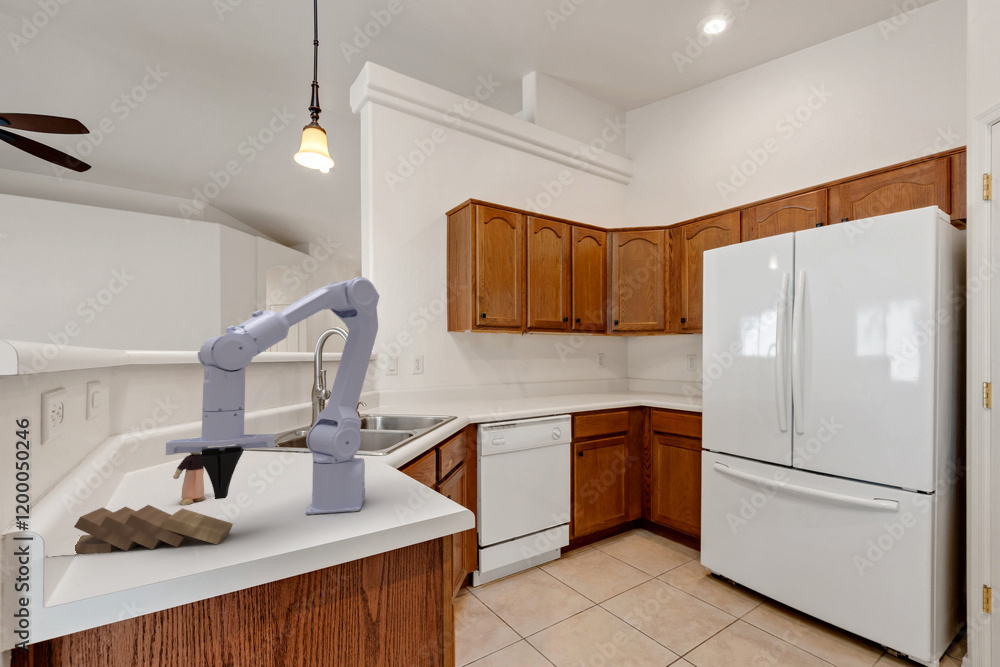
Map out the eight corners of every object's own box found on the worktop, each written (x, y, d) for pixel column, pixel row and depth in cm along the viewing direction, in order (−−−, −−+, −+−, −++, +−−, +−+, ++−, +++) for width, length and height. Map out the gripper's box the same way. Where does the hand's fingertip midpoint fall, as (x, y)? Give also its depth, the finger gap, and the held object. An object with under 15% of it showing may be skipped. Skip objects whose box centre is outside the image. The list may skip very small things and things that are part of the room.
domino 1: (151, 530, 69) (102, 507, 69) (132, 540, 65) (80, 516, 64) (145, 539, 69) (96, 516, 68) (126, 551, 65) (73, 527, 64)
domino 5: (233, 523, 72) (182, 508, 70) (221, 534, 67) (167, 517, 66) (228, 533, 71) (177, 518, 70) (217, 544, 67) (162, 528, 66)
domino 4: (197, 526, 71) (148, 504, 69) (183, 537, 66) (130, 514, 65) (191, 535, 70) (142, 514, 69) (177, 547, 66) (124, 524, 65)
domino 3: (174, 528, 70) (125, 506, 69) (159, 539, 66) (106, 516, 65) (169, 538, 70) (119, 516, 69) (152, 549, 65) (99, 526, 64)
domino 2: (129, 531, 69) (70, 536, 68) (110, 543, 65) (46, 548, 63) (129, 542, 69) (69, 546, 67) (110, 554, 65) (45, 559, 63)
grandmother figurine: (185, 507, 85) (188, 440, 85) (169, 506, 85) (171, 439, 86) (218, 495, 92) (220, 433, 93) (203, 494, 93) (205, 433, 94)
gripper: (277, 405, 77) (275, 485, 76) (177, 409, 71) (174, 495, 71) (272, 409, 70) (270, 496, 69) (162, 414, 65) (158, 509, 64)
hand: (221, 497), depth 70 cm, fingers closed
